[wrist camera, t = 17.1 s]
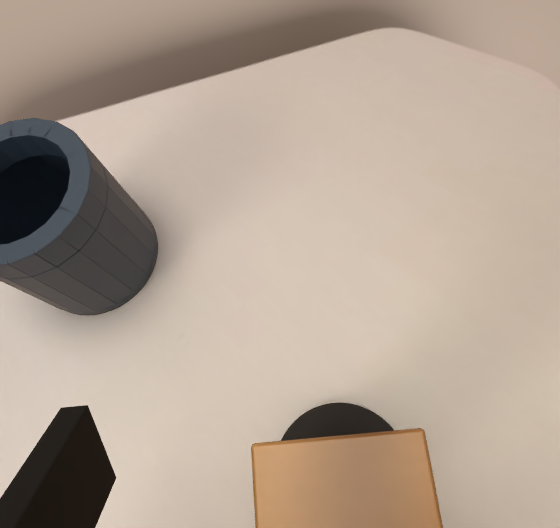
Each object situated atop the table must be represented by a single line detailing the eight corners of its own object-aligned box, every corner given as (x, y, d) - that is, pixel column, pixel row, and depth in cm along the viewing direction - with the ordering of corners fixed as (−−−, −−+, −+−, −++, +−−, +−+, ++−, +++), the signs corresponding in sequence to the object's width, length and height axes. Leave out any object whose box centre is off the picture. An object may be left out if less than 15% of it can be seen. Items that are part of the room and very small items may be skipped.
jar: (32, 227, 36) (-75, 153, 27) (141, 184, 36) (73, 96, 27) (51, 334, 32) (-65, 292, 23) (172, 286, 33) (105, 225, 23)
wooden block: (312, 517, 26) (262, 657, 9) (304, 441, 27) (250, 444, 11) (383, 511, 25) (466, 646, 9) (372, 435, 27) (425, 427, 10)
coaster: (256, 432, 28) (254, 432, 28) (375, 383, 29) (375, 382, 28) (304, 575, 25) (303, 578, 25) (436, 520, 26) (438, 522, 25)
